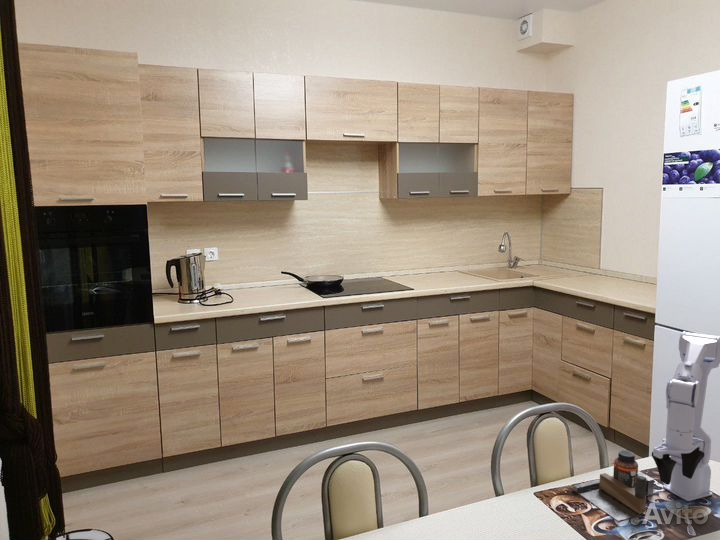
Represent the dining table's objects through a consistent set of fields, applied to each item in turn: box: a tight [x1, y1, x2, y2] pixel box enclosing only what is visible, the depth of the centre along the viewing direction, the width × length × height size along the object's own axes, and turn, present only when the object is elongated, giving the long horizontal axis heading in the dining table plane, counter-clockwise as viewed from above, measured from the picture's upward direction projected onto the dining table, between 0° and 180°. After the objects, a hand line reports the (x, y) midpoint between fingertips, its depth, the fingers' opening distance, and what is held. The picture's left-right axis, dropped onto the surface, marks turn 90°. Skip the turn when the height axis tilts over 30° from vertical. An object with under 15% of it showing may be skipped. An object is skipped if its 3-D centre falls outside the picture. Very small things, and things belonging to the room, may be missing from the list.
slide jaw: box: [598, 472, 647, 514], centre depth 144 cm, size 2×14×9 cm, turn 21°
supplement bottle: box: [612, 449, 639, 490], centre depth 149 cm, size 6×6×11 cm
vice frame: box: [572, 470, 655, 522], centre depth 146 cm, size 18×16×4 cm
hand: (676, 479), depth 136 cm, fingers open, 7 cm apart
